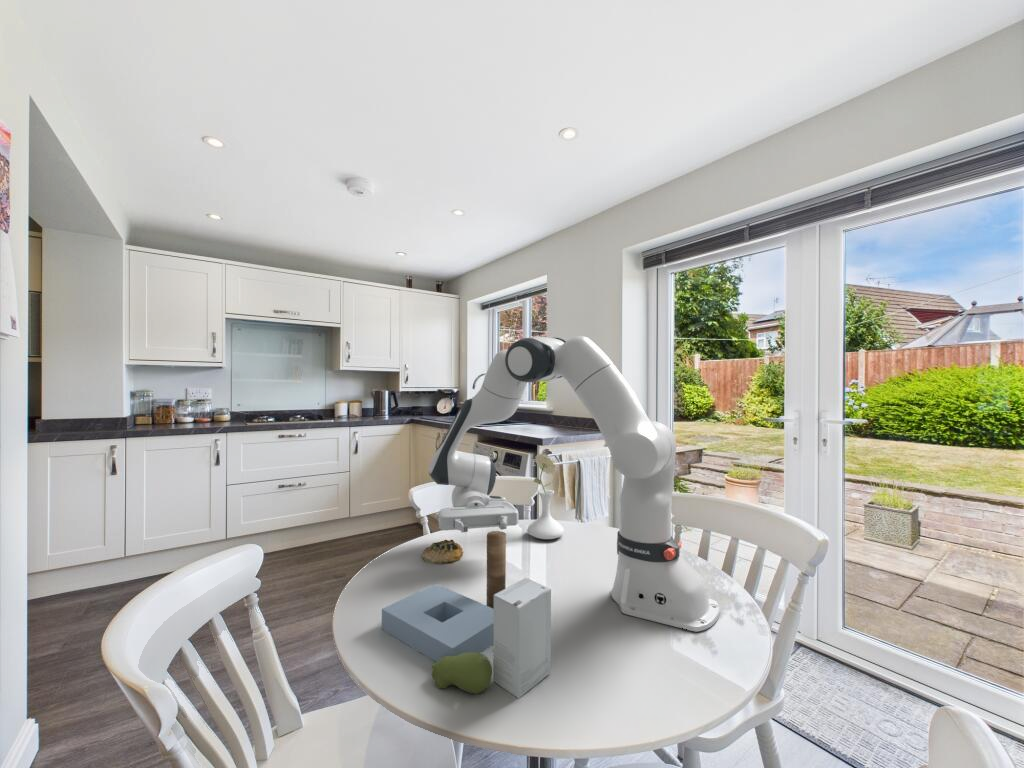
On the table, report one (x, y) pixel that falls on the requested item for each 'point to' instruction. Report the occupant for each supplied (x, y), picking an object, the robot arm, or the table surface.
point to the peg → (495, 565)
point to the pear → (463, 672)
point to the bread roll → (443, 552)
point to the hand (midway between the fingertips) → (484, 527)
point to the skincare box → (522, 636)
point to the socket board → (440, 623)
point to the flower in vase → (545, 505)
